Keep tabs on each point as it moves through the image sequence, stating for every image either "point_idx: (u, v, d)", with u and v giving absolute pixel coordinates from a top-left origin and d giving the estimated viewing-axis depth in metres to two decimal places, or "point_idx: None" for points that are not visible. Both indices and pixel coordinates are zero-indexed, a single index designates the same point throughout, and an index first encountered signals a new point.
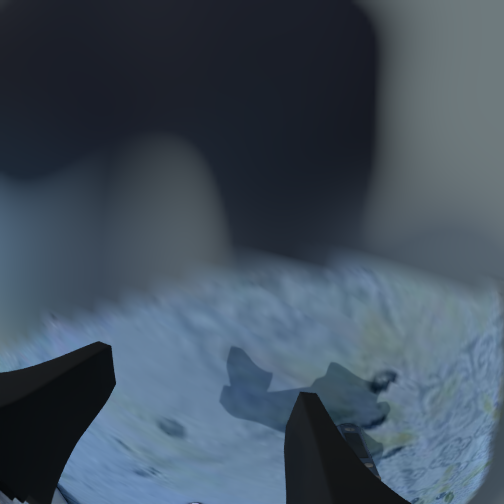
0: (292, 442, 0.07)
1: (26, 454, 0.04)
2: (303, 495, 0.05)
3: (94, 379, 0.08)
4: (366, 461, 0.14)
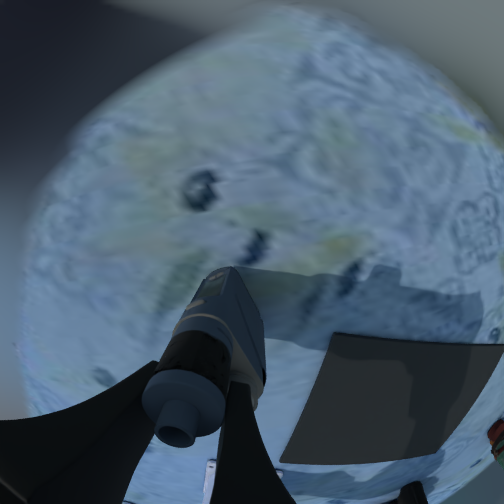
0: (220, 431, 0.07)
1: (96, 498, 0.03)
2: None
3: None
4: (195, 300, 0.12)
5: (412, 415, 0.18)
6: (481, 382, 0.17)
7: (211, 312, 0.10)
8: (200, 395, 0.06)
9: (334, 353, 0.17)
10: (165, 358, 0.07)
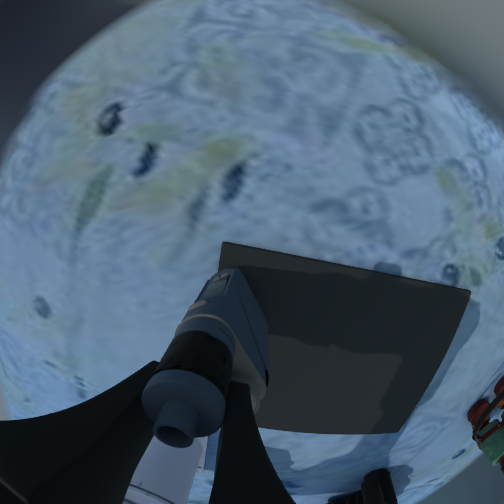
0: (220, 431, 0.07)
1: (96, 498, 0.03)
2: None
3: None
4: (198, 300, 0.12)
5: (349, 370, 0.19)
6: (443, 338, 0.18)
7: (213, 312, 0.10)
8: (199, 395, 0.06)
9: (226, 266, 0.18)
10: (166, 358, 0.07)
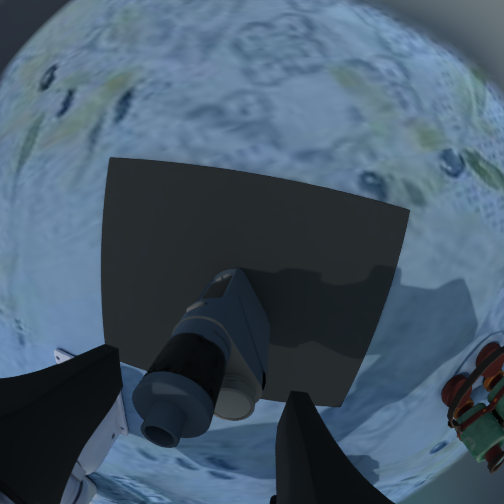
0: (283, 441, 0.07)
1: (34, 460, 0.04)
2: (291, 495, 0.05)
3: (101, 382, 0.08)
4: (196, 302, 0.12)
5: None
6: (378, 272, 0.16)
7: (209, 315, 0.10)
8: (186, 398, 0.06)
9: (111, 179, 0.16)
10: (157, 359, 0.07)
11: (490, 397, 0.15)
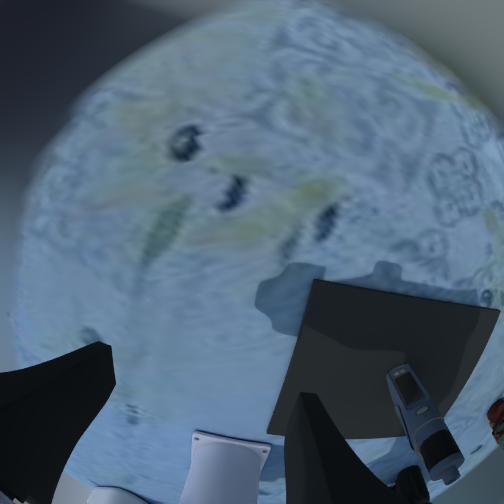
0: (293, 442, 0.07)
1: (26, 454, 0.04)
2: (303, 495, 0.05)
3: (94, 379, 0.08)
4: (419, 406, 0.14)
5: None
6: (476, 350, 0.18)
7: (437, 414, 0.12)
8: (462, 460, 0.08)
9: (315, 302, 0.18)
10: (440, 450, 0.09)
11: None
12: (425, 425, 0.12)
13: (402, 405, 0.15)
